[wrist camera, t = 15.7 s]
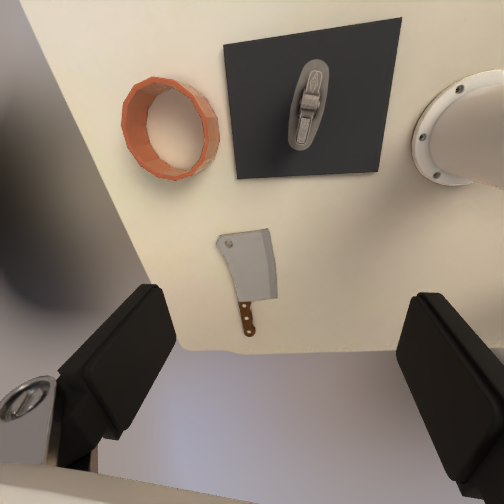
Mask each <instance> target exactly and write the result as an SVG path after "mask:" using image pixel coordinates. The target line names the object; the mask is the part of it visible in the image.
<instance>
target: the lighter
mask: <svg viewBox="0 0 504 504" xmlns="http://www.w3.org/2000/svg"><path fill="white" fill-rule="evenodd" d="M328 81H329V68H328V66H327V64H326V63H325V62H324V61H322V60H319V59H314V60H311V61H309V62H308V63H307V64H306V65H305V66H304V68H303V70H302V72H301V75H300V78H299V80H298V83H297V86H296V89H295V93H294V97H293V100H292V104H291V110H290V117H289V129H288V141H289V144H290V146H291V147H292V148H293V149H295V150H305V149H307V148H308V147H309V146H310V145H311V144H312V141H313V139H314V137H315V135H316V132H317V130H318V127H319V124H320V121H321V118H322V115H323V112H324V107H325V102H326V97H327V92H328Z"/></svg>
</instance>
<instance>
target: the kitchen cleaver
mask: <svg viewBox="0 0 504 504" xmlns="http://www.w3.org/2000/svg"><path fill="white" fill-rule="evenodd" d="M226 241H231V242H232V243H233V245H231V246H229V245H227V244H226ZM216 245H217V247H218V248H219V250H220V251H221V253H222V254H223V256H224V258H225V260H226V262H227V264H228V266H229V269H230V271H231V274H232V277H233V280H234V284H235V288H236V292H237V297H238V301H239V308H240V313H241V318H242V323H243V329H244V334H245V335H246V336H247V337H252V336H253V335H254V334H255V327H254V326H253V325H252V314H251V311H250V304H251V303H250V302H251V301H258V300H265V299H273V298H277V281H276V268H275V260H274V254H273V249H272V243H271V238H270V233H269V230H268V229H263V230H257V231H249V232H241V233H233V234H225V235H220V237H219V239H218V241H217V243H216Z"/></svg>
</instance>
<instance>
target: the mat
mask: <svg viewBox="0 0 504 504" xmlns="http://www.w3.org/2000/svg"><path fill="white" fill-rule="evenodd" d="M401 22H402V17H400V18H394V19H388V20H381V21H375V22H368V23H362V24H355V25H349V26H342V27H336V28H329V29H323V30H316V31H310V32H304V33H297V34H291V35H284V36H278V37H271V38H265V39H258V40H252V41H245V42H239V43H232V44H226V45H223V47H224V57H225V67H226V76H227V86H228V95H229V105H230V115H231V124H232V134H233V144H234V153H235V163H236V172H237V179H248V178H268V177H287V176H307V175H326V174H345V173H365V172H378V168H379V162H380V155H381V149H382V143H383V136H384V130H385V124H386V117H387V111H388V105H389V98H390V92H391V85H392V79H393V73H394V66H395V60H396V54H397V47H398V41H399V35H400V28H401ZM314 59H319V60H322V61H324V62H325V63H326V64H327V66H328V68H329V81H328V92H327V97H326V102H325V107H324V112H323V115H322V118H321V121H320V124H319V127H318V130H317V132H316V135H315V137H314V139H313V141H312V144H311V145H310V146H309V147H308V148H307V149H305V150H295V149H293V148H292V147H291V146H290V144H289V141H288V129H289V117H290V110H291V104H292V100H293V97H294V93H295V89H296V86H297V83H298V80H299V78H300V75H301V72H302V70H303V68H304V66H305V65H306V64H307V63H308V62H309V61H311V60H314Z"/></svg>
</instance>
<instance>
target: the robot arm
mask: <svg viewBox="0 0 504 504" xmlns="http://www.w3.org/2000/svg"><path fill="white" fill-rule="evenodd" d="M456 88H457V92H455V90H456ZM420 135H421V136H422V137H421V138H420V139H419V136H420ZM412 156H413V160H414V163H415V165H416V167H417V169H418V170H419V172H420V173H421V174H422V175H423V176H425V177H426V178H427V179H429V180H431V181H433V182H436V183H439V184H441V185H448V186H462V185H467V184H472V183H475V182H480V183H483V184H486V185H489V186H493V187H496V188H499V189H502V190H504V70H489V71H484V72H480V73H476V74H473V75H470V76H467V77H465V78H463V79H461V80H459V81H457V82H455V83H454V84H452V85H451V86H449V87H448V88H446V89H445V90H444V91H443V92H442V93H440V94H439V95H438V96H437V97H436V98H435V99H434V100H433V101H432V102H431V104H430V105H429V106H428V107H427V108H426V110H425V111H424V113H423V114H422V116H421V118H420V119H419V121H418V124H417V126H416V128H415V131H414V135H413V139H412ZM434 173H435V175H434ZM433 175H434V176H433ZM175 342H176V333H175V330H174V326H173V323H172V320H171V317H170V313H169V310H168V307H167V304H166V300H165V297H164V294H163V291H162V289H161V288H159V287H158V285H156V284H142V285H140V286H139V287H138V288H137V289H136V290H135V291H134V292H133V293H132V294H131V295H130V296H129V297H128V298H127V299H126V300H125V301H124V303H122V305H120V307H119V308H118V309H117V310H116V311H115V312H114V313H113V314H112V315H111V316H110V317H109V318H108V319H107V320H106V321H105V322H104V323H103V324H102V325H101V326H100V327H99V328H98V329H97V330H96V331H95V332H94V334H92V335H91V336H90V338H89V339H88V340H87V341H86V342H85V343H84V344H83V345H82V346H81V347H80V348H79V349H78V350H77V351H76V352H75V353H74V354H73V355H72V356H71V357H70V358H69V359H68V360H67V361H66V362H65V363H64V364H63V365H62V366H61V367H60V368H59V369H58V372H59V374H60V377H59V378H58V379H57V380H55V379H54V378H53V377H51V376H39V377H36V378H33V379H31V380H28V381H27V382H25V383H23V384H21V385H19V386H18V387H16V388H15V389H14V390H12V391H11V392H10V393H9V394H7V395H6V396H5V397H4V398H3V399H2V400H1V401H0V504H257V503H252V502H246V501H241V500H236V499H231V498H226V497H220V496H215V495H210V494H205V493H199V492H194V491H189V490H184V489H178V488H173V487H167V486H162V485H157V484H151V483H146V482H141V481H135V480H130V479H124V478H119V477H114V476H109V475H103V474H98V450H97V449H98V446H97V445H98V443H99V441H100V440H101V438H102V437H103V438H105V439H112V440H119V438H120V436H121V434H122V433H123V431H124V430H126V429H128V428H129V426H130V425H131V423H132V421H133V419H134V417H135V416H136V414H137V412H138V410H139V408H140V407H141V405H142V403H143V401H144V399H145V398H146V396H147V394H148V392H149V390H150V388H151V387H152V385H153V383H154V381H155V379H156V378H157V376H158V374H159V372H160V370H161V368H162V367H163V365H164V363H165V361H166V359H167V357H168V356H169V354H170V352H171V350H172V348H173V347H174V345H175ZM396 356H397V361H398V364H399V366H400V368H401V370H402V372H403V375H404V377H405V380H406V382H407V384H408V387H409V389H410V391H411V393H412V396H413V398H414V400H415V402H416V405H417V407H418V409H419V412H420V414H421V416H422V419H423V421H424V423H425V426H426V428H427V430H428V432H429V435H430V437H431V439H432V442H433V444H434V446H435V449H436V451H437V453H438V455H439V457H440V460H441V462H442V464H443V467H444V469H445V471H446V473H447V475H448V477H449V478H450V479H451V480H453V481H456V483H457V485H458V487H459V490H460V492H461V494H462V496H465V497H471V498H477V499H483V500H484V502H485V504H504V365H503V364H502V363H501V362H500V361H499V359H498V358H497V357H496V356H495V355H494V354H493V353H492V351H491V350H490V349H489V348H488V347H487V346H486V344H485V343H484V342H483V341H482V340H481V339H480V338H479V336H478V335H477V334H476V333H475V332H474V331H473V330H472V328H471V327H470V326H469V325H468V324H467V323H466V322H465V320H464V319H463V318H462V317H461V316H460V315H459V313H458V312H457V311H456V310H455V309H454V308H453V307H452V305H451V304H450V303H449V302H448V301H447V300H446V299H445V297H444V296H443V295H442V294H440V293H425V292H420V293H418V294H417V296H414V297H412V298H411V301H410V304H409V308H408V311H407V315H406V318H405V322H404V325H403V329H402V332H401V336H400V339H399V343H398V346H397V350H396Z"/></svg>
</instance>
